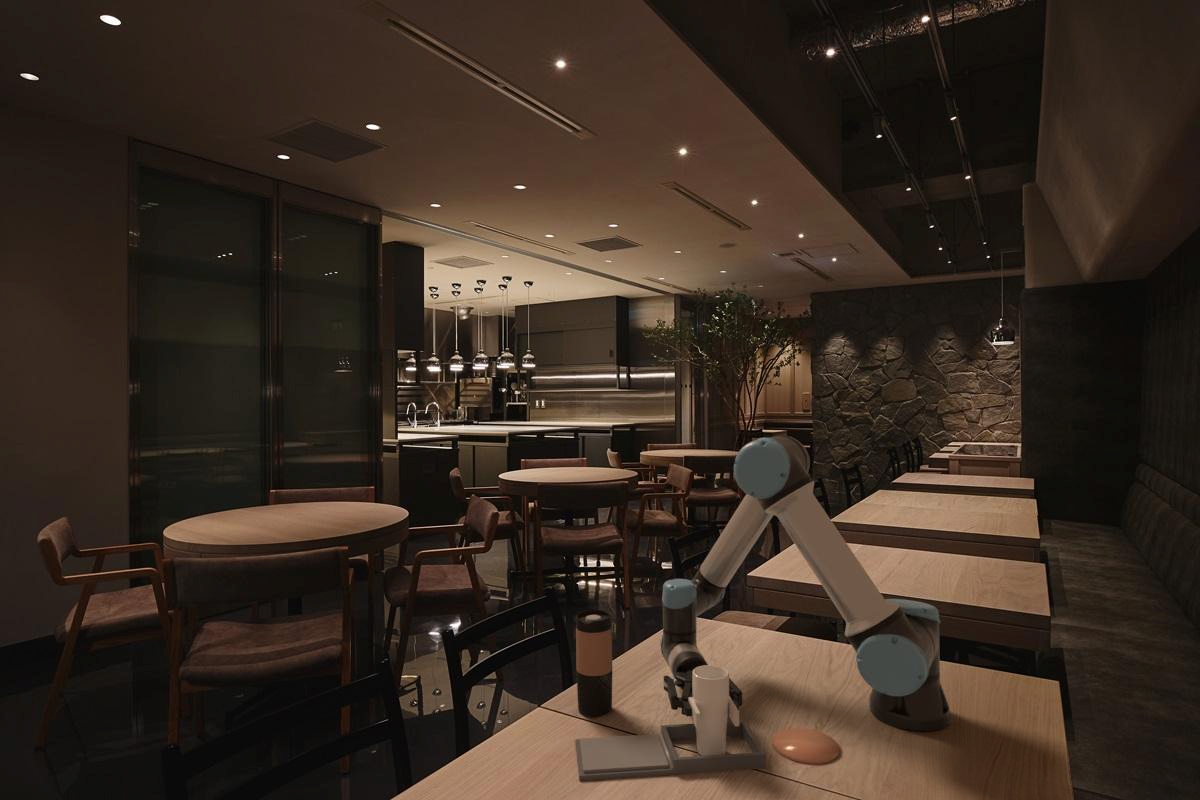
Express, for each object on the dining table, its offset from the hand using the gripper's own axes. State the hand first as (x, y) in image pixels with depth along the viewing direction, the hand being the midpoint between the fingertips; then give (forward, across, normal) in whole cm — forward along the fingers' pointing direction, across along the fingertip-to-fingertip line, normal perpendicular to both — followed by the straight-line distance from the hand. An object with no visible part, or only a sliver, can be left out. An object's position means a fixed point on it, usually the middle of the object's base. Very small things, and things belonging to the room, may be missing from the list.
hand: (717, 719), depth 121 cm
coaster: (-5, -18, -8) cm, 21 cm away
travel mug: (-25, +20, -9) cm, 33 cm away
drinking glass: (-5, 0, -9) cm, 10 cm away
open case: (-5, +8, -8) cm, 13 cm away
